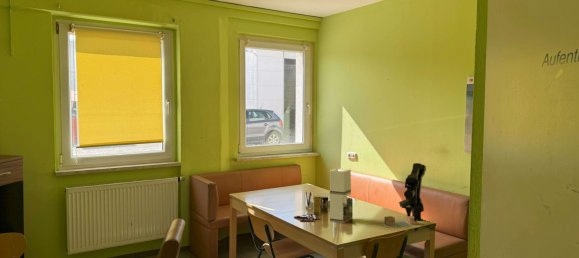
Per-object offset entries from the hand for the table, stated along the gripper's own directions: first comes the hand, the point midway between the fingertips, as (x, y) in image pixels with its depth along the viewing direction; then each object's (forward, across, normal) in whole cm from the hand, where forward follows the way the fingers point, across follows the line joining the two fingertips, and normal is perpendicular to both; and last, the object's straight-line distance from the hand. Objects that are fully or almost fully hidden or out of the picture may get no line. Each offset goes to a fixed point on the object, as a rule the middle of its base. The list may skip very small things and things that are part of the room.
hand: (412, 219), depth 284 cm
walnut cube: (+2, +1, -16) cm, 16 cm away
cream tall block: (+4, -22, -42) cm, 48 cm away
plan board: (+4, +1, -12) cm, 13 cm away
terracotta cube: (+4, 0, 0) cm, 4 cm away
